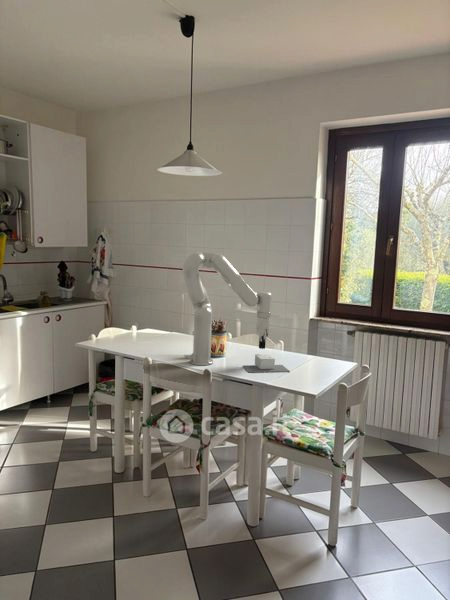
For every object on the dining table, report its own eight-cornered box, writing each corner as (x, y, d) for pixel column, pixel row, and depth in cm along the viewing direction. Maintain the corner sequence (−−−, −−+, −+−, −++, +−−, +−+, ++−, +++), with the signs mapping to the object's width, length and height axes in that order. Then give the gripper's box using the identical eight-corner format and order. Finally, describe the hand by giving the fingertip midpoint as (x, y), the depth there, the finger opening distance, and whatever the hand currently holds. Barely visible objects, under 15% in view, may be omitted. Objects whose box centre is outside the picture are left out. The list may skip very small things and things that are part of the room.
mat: (248, 372, 227) (248, 371, 227) (242, 366, 239) (242, 365, 239) (289, 372, 232) (289, 371, 232) (282, 365, 243) (282, 364, 243)
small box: (254, 364, 242) (259, 369, 232) (254, 354, 242) (260, 358, 231) (268, 364, 244) (274, 369, 234) (269, 354, 243) (275, 358, 233)
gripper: (253, 312, 247) (251, 345, 249) (260, 317, 232) (259, 351, 235) (266, 312, 249) (264, 345, 251) (274, 317, 234) (272, 351, 236)
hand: (261, 348), depth 243 cm, fingers closed
